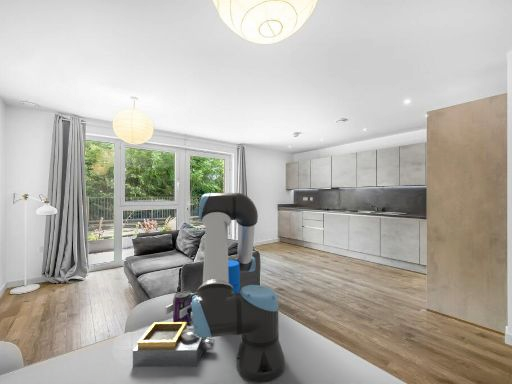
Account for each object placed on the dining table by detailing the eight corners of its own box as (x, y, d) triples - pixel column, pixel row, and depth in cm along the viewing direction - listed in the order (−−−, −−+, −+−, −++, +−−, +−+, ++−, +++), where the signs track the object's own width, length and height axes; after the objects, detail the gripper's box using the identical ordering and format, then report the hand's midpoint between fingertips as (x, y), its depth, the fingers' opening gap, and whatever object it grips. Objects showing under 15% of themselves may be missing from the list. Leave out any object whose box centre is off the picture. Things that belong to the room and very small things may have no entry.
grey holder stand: (217, 339, 89) (217, 320, 89) (209, 366, 75) (209, 343, 75) (152, 340, 89) (152, 321, 89) (132, 366, 75) (132, 344, 75)
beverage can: (185, 328, 95) (185, 298, 96) (169, 327, 97) (169, 297, 97) (194, 319, 102) (193, 291, 102) (178, 318, 104) (178, 290, 104)
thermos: (226, 315, 107) (226, 258, 108) (245, 322, 101) (244, 262, 101) (208, 325, 98) (208, 264, 99) (228, 334, 92) (227, 268, 93)
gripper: (226, 303, 111) (192, 327, 91) (192, 296, 120) (155, 317, 99) (225, 286, 112) (192, 307, 91) (192, 281, 120) (155, 298, 99)
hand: (173, 312), depth 95 cm, fingers closed on beverage can, 7 cm apart
